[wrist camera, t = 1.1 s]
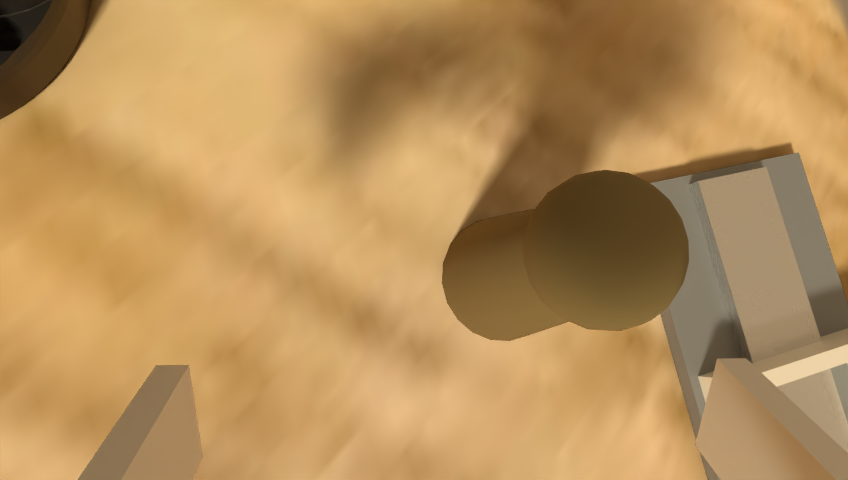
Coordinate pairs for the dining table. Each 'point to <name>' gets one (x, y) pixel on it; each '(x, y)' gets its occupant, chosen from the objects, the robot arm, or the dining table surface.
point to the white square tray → (798, 361)
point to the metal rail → (764, 285)
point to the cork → (570, 260)
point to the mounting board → (700, 293)
